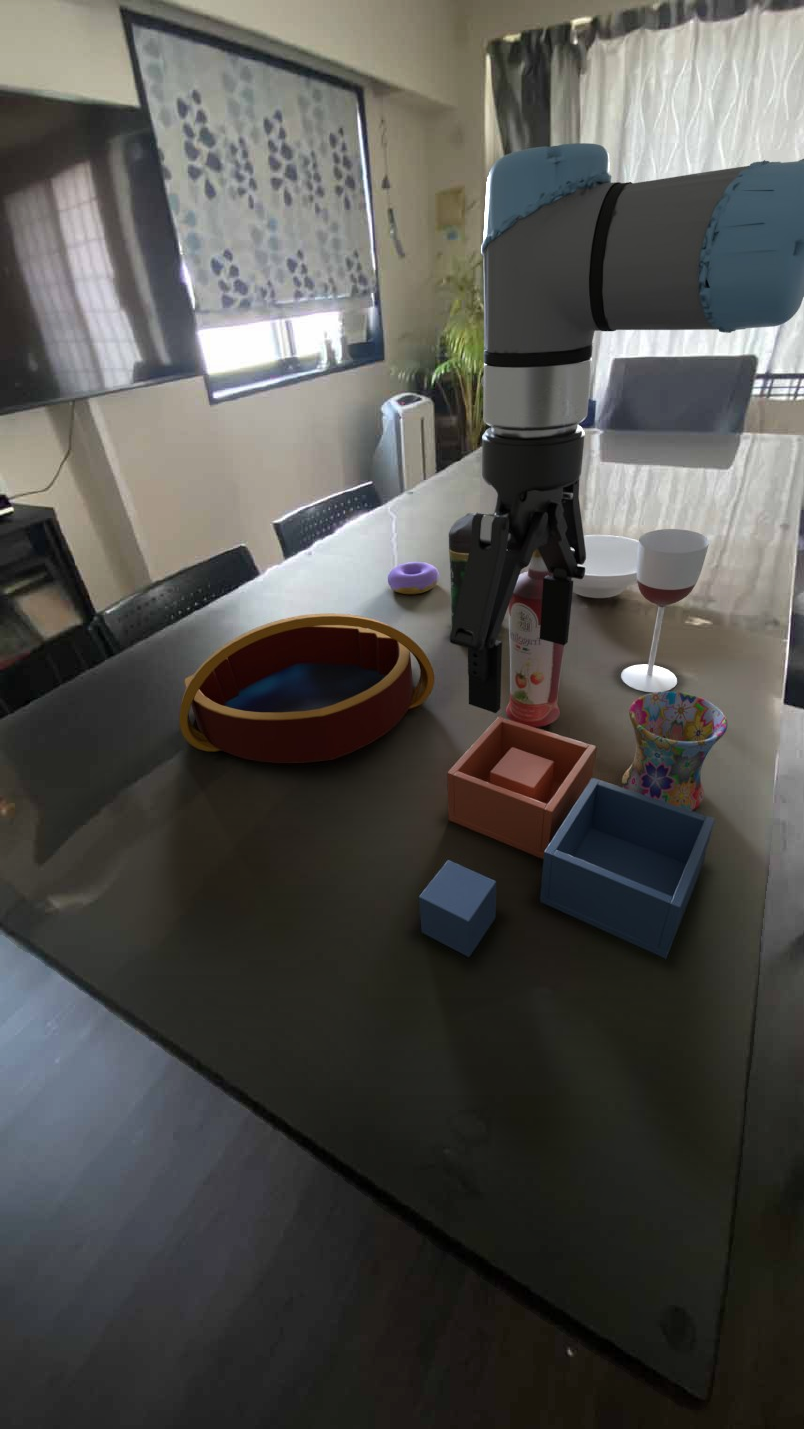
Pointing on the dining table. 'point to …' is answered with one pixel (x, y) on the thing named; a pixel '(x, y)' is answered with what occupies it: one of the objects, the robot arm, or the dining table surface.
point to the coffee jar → (459, 556)
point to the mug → (672, 746)
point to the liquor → (532, 653)
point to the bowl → (607, 566)
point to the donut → (413, 578)
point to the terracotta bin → (507, 810)
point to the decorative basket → (304, 689)
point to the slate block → (458, 907)
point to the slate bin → (626, 864)
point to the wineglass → (664, 591)
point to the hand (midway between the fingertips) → (521, 671)
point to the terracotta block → (524, 774)
